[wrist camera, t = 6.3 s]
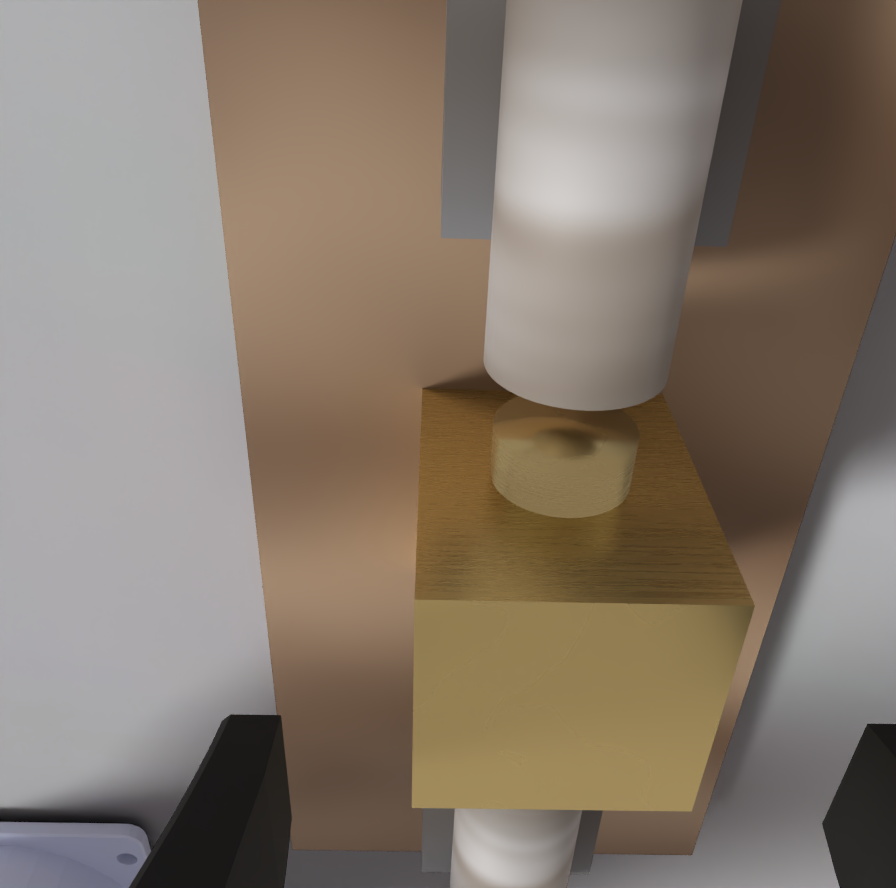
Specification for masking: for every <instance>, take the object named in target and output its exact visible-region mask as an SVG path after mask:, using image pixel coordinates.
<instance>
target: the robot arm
mask: <svg viewBox="0 0 896 888" xmlns="http://www.w3.org/2000/svg"><path fill="white" fill-rule="evenodd" d="M291 822H292V814H291V804H290V795H289V785H288V776H287V767H286V757H285V748H284V738H283V729H282V719H281V715H230V716H228V717H227V718H225V719H224V720H223V721H222V722H221V725H220V727H219V729H218V731H217V733H216V735H215V737H214V739H213V742H212V744H211V746H210V748H209V750H208V751H207V753H206V755H205V757H204V759H203V761H202V763H201V765H200V767H199V769H198V771H197V773H196V775H195V776H194V778H193V780H192V782H191V784H190V786H189V787H188V789H187V791H186V793H185V795H184V796H183V798H182V800H181V802H180V803H179V805H178V807H177V809H176V810H175V812H174V814H173V816H172V817H171V819H170V821H169V823H168V824H167V826H166V828H165V829H164V831H163V833H162V834H161V836H160V838H159V839H158V841H157V842H156V844H155V846H154V847H153V849H152V851H151V849H150V845H149V841H148V838H147V835H146V833H145V832H144V830H142V829H141V828H140V827H138V826H135V825H133V824H122V823H50V822H0V888H284V883H285V875H286V867H287V858H288V849H289V840H290V831H291ZM822 824H823V828H824V832H825V836H826V839H827V843H828V847H829V851H830V854H831V858H832V862H833V866H834V869H835V873H836V876H837V880H838V883H839V886H840V888H896V724H867V726H866V728H865V730H864V733H863V735H862V737H861V739H860V741H859V744H858V746H857V748H856V750H855V752H854V755H853V757H852V759H851V761H850V764H849V766H848V768H847V770H846V772H845V775H844V777H843V779H842V781H841V784H840V786H839V788H838V790H837V792H836V795H835V797H834V799H833V801H832V803H831V806H830V808H829V810H828V812H827V815H826V817H825V819H824V821H823V823H822Z"/></svg>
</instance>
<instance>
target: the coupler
mask: <svg viewBox="0 0 896 888" xmlns="http://www.w3.org/2000/svg"><path fill="white" fill-rule="evenodd" d="M754 608H755V604H754V602H753V600H752V597H751V595H750V593H749V591H748V588H747V586H746V584H745V581H744V579H743V577H742V574H741V572H740V570H739V568H738V565H737V563H736V561H735V558H734V556H733V554H732V552H731V549H730V547H729V545H728V542H727V540H726V538H725V535H724V533H723V531H722V529H721V526H720V524H719V522H718V519H717V517H716V515H715V512H714V510H713V508H712V506H711V503H710V501H709V499H708V496H707V494H706V492H705V490H704V487H703V485H702V483H701V480H700V478H699V476H698V473H697V471H696V469H695V467H694V464H693V462H692V460H691V457H690V455H689V453H688V450H687V448H686V446H685V444H684V441H683V439H682V437H681V434H680V432H679V430H678V428H677V425H676V423H675V421H674V418H673V416H672V414H671V411H670V409H669V407H668V405H667V402H666V400H665V398H664V395H663V394H657V395H656V396H655V397H653V398H651V399H649V400H647V401H646V402H643V403H640V404H638V405H634V406H630V407H626V408H621V409H615V410H603V411H584V410H571V409H563V408H557V407H552V406H548V405H544V404H540V403H536V402H533V401H530V400H528V399H525V398H522V397H520V396H518V395H516V394H514V393H512V392H510V391H508V390H469V389H427V388H422V410H421V437H420V465H419V492H418V519H417V546H416V574H415V603H414V676H413V749H412V808H455V809H534V810H612V811H691V812H692V809H693V806H694V803H695V799H696V796H697V793H698V790H699V786H700V783H701V780H702V777H703V773H704V770H705V767H706V764H707V760H708V757H709V754H710V751H711V747H712V744H713V741H714V738H715V734H716V731H717V728H718V725H719V722H720V718H721V715H722V712H723V709H724V705H725V702H726V699H727V696H728V692H729V689H730V686H731V683H732V679H733V676H734V673H735V670H736V666H737V663H738V660H739V657H740V653H741V650H742V647H743V644H744V640H745V637H746V634H747V631H748V627H749V624H750V621H751V618H752V614H753V611H754Z"/></svg>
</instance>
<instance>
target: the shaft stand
mask: <svg viewBox="0 0 896 888" xmlns="http://www.w3.org/2000/svg"><path fill="white" fill-rule="evenodd" d="M198 8H199V17H200V26H201V35H202V44H203V53H204V62H205V71H206V80H207V89H208V98H209V107H210V116H211V125H212V134H213V143H214V152H215V161H216V170H217V179H218V188H219V197H220V206H221V215H222V224H223V233H224V242H225V251H226V260H227V269H228V278H229V287H230V296H231V305H232V314H233V322H234V331H235V340H236V349H237V358H238V367H239V376H240V385H241V394H242V403H243V412H244V421H245V430H246V439H247V448H248V457H249V466H250V475H251V484H252V493H253V502H254V511H255V520H256V529H257V538H258V547H259V556H260V565H261V574H262V583H263V592H264V601H265V610H266V619H267V628H268V637H269V646H270V655H271V664H272V673H273V682H274V691H275V700H276V709H277V715H281V719H282V729H283V738H284V748H285V757H286V767H287V776H288V785H289V795H290V804H291V814H292V822H291V831H290V835H291V844H292V850H344V851H419V852H422V863H421V872H450V873H451V875H450V888H567V885H568V880H569V875H570V874H589V872H590V867H591V863H592V858H593V854H644V855H692V853H693V850H694V847H695V844H696V841H697V838H698V835H699V832H700V829H701V826H702V823H703V820H704V817H705V814H706V811H707V808H708V805H709V802H710V799H711V796H712V793H713V790H714V786H715V783H716V780H717V777H718V774H719V771H720V768H721V765H722V762H723V759H724V756H725V753H726V750H727V747H728V744H729V741H730V738H731V735H732V732H733V729H734V726H735V723H736V720H737V717H738V713H739V710H740V707H741V704H742V701H743V698H744V695H745V692H746V689H747V686H748V683H749V680H750V677H751V674H752V671H753V668H754V665H755V662H756V659H757V656H758V653H759V650H760V647H761V643H762V640H763V637H764V634H765V631H766V628H767V625H768V622H769V619H770V616H771V613H772V610H773V607H774V604H775V601H776V598H777V595H778V592H779V589H780V586H781V583H782V580H783V577H784V573H785V570H786V567H787V564H788V561H789V558H790V555H791V552H792V549H793V546H794V543H795V540H796V537H797V534H798V531H799V528H800V525H801V522H802V519H803V516H804V513H805V510H806V507H807V503H808V500H809V497H810V494H811V491H812V488H813V485H814V482H815V479H816V476H817V473H818V470H819V467H820V464H821V461H822V458H823V455H824V452H825V449H826V446H827V443H828V440H829V437H830V434H831V430H832V427H833V424H834V421H835V418H836V415H837V412H838V409H839V406H840V403H841V400H842V397H843V394H844V391H845V388H846V385H847V382H848V379H849V376H850V373H851V370H852V367H853V364H854V360H855V357H856V354H857V351H858V348H859V345H860V342H861V339H862V336H863V333H864V330H865V327H866V324H867V321H868V318H869V315H870V312H871V309H872V306H873V303H874V300H875V297H876V294H877V290H878V287H879V284H880V281H881V278H882V275H883V272H884V269H885V266H886V263H887V260H888V257H889V254H890V251H891V248H892V245H893V242H894V239H895V236H896V0H198ZM422 388H427V389H469V390H508V391H510V392H512V393H514V394H516V395H518V396H520V397H522V398H525V399H528V400H530V401H533V402H536V403H540V404H544V405H548V406H552V407H557V408H563V409H571V410H584V411H603V410H615V409H621V408H626V407H630V406H634V405H638V404H640V403H643V402H646V401H647V400H649V399H651V398H653V397H655V396H656V395H657V394H663V395H664V398H665V400H666V402H667V405H668V407H669V409H670V411H671V414H672V416H673V418H674V421H675V423H676V425H677V428H678V430H679V432H680V434H681V437H682V439H683V441H684V444H685V446H686V448H687V450H688V453H689V455H690V457H691V460H692V462H693V464H694V467H695V469H696V471H697V473H698V476H699V478H700V480H701V483H702V485H703V487H704V490H705V492H706V494H707V496H708V499H709V501H710V503H711V506H712V508H713V510H714V512H715V515H716V517H717V519H718V522H719V524H720V526H721V529H722V531H723V533H724V535H725V538H726V540H727V542H728V545H729V547H730V549H731V552H732V554H733V556H734V558H735V561H736V563H737V565H738V568H739V570H740V572H741V574H742V577H743V579H744V581H745V584H746V586H747V588H748V591H749V593H750V595H751V597H752V600H753V602H754V604H755V608H754V611H753V614H752V618H751V621H750V624H749V627H748V631H747V634H746V637H745V640H744V644H743V647H742V650H741V653H740V657H739V660H738V663H737V666H736V670H735V673H734V676H733V679H732V683H731V686H730V689H729V692H728V696H727V699H726V702H725V705H724V709H723V712H722V715H721V718H720V722H719V725H718V728H717V731H716V734H715V738H714V741H713V744H712V747H711V751H710V754H709V757H708V760H707V764H706V767H705V770H704V773H703V777H702V780H701V783H700V786H699V790H698V793H697V796H696V799H695V803H694V806H693V809H692V812H691V811H612V810H534V809H455V808H412V749H413V676H414V603H415V574H416V546H417V519H418V492H419V465H420V437H421V410H422Z"/></svg>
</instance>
